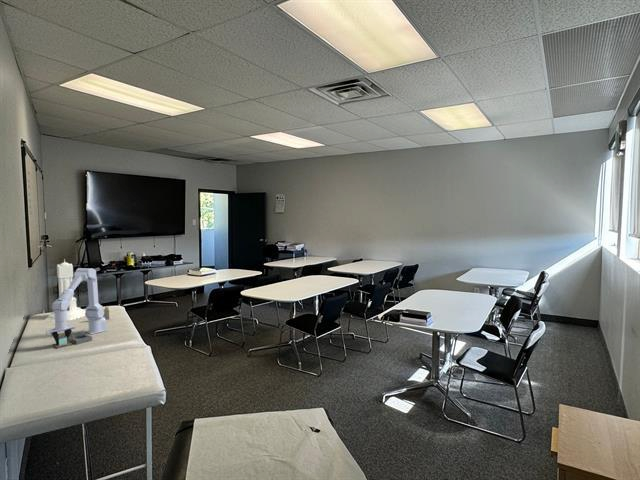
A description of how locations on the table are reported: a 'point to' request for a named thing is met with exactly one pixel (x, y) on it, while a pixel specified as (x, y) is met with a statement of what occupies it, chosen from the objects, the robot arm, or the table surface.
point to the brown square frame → (62, 345)
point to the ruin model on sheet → (106, 313)
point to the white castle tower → (64, 282)
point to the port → (79, 337)
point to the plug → (62, 340)
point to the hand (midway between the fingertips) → (62, 343)
